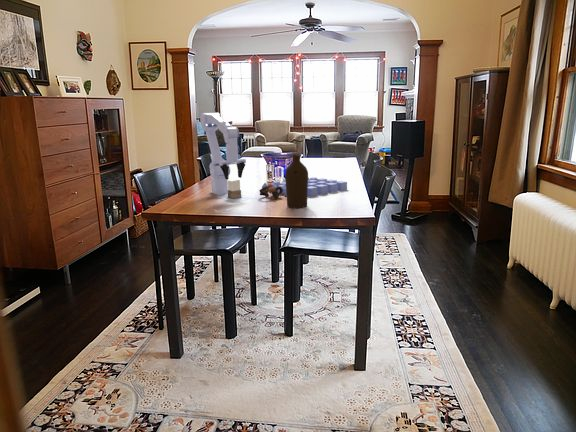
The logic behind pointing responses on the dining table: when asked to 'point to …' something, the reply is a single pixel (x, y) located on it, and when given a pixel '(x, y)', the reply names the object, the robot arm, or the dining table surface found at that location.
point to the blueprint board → (235, 198)
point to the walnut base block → (234, 194)
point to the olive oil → (296, 183)
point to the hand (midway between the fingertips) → (233, 178)
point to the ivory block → (233, 185)
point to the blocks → (315, 186)
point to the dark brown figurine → (273, 190)
